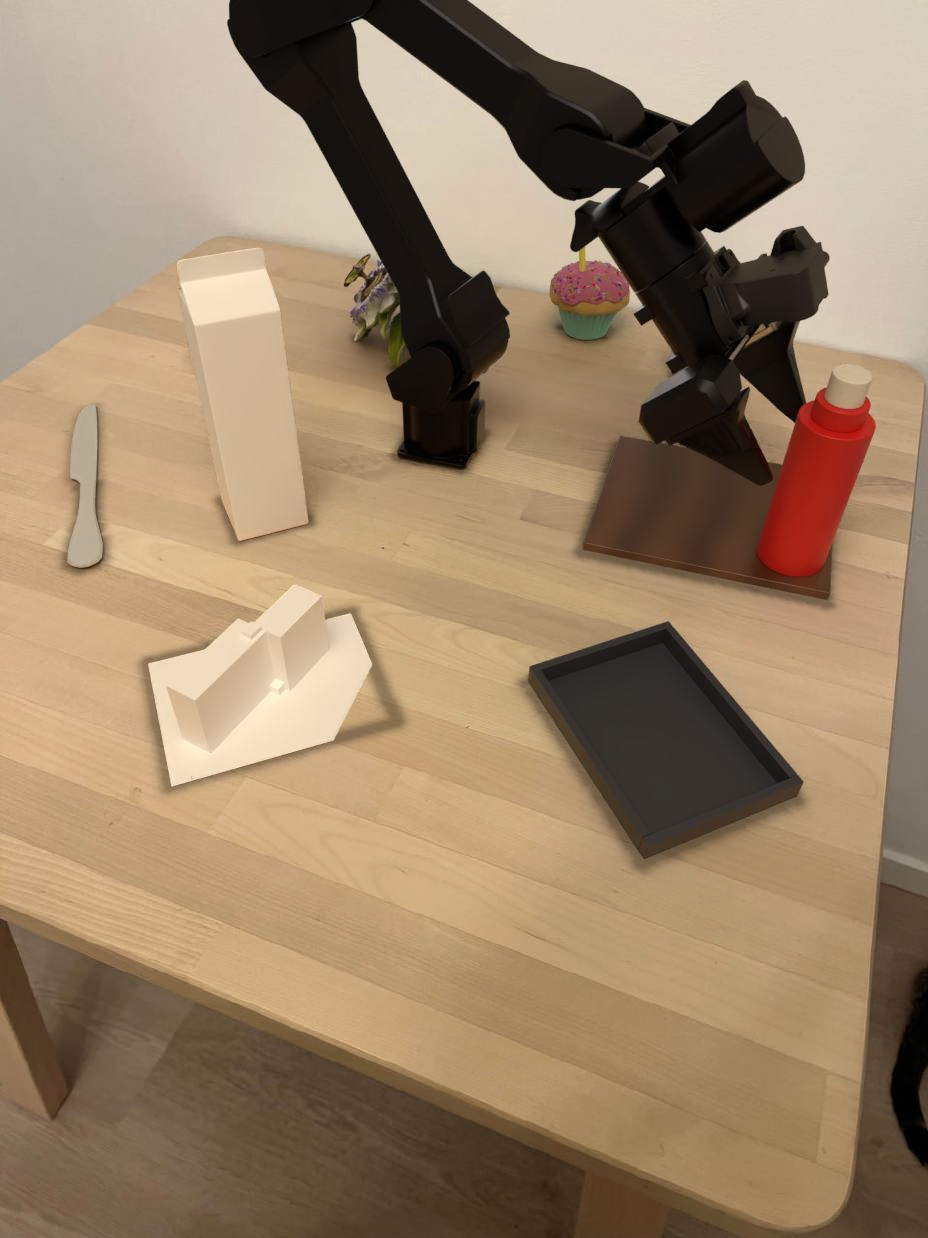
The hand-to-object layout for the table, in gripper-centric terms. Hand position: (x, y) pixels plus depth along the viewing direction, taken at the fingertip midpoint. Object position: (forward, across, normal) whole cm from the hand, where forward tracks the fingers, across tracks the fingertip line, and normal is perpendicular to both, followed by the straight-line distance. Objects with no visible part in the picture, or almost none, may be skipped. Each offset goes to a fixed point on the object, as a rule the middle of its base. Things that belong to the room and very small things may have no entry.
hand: (785, 450), depth 68 cm
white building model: (-10, -32, +24) cm, 41 cm away
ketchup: (+8, 0, +4) cm, 9 cm away
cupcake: (-12, +27, +27) cm, 40 cm away
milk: (-19, -16, +34) cm, 42 cm away
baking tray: (+7, -22, +7) cm, 24 cm away
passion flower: (-23, +14, +38) cm, 47 cm away
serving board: (+4, +3, +10) cm, 11 cm away
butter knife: (-30, -20, +45) cm, 58 cm away
